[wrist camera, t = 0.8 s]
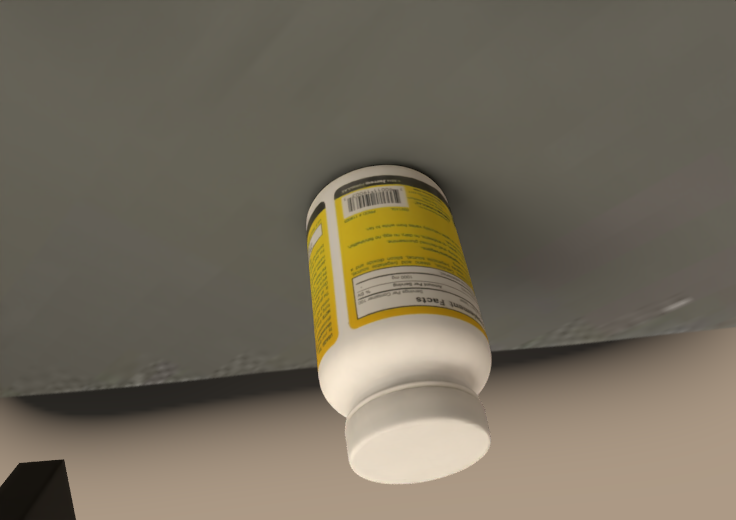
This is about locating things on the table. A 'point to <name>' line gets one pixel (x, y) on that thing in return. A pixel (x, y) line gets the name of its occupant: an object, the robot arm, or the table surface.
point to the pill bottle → (397, 326)
